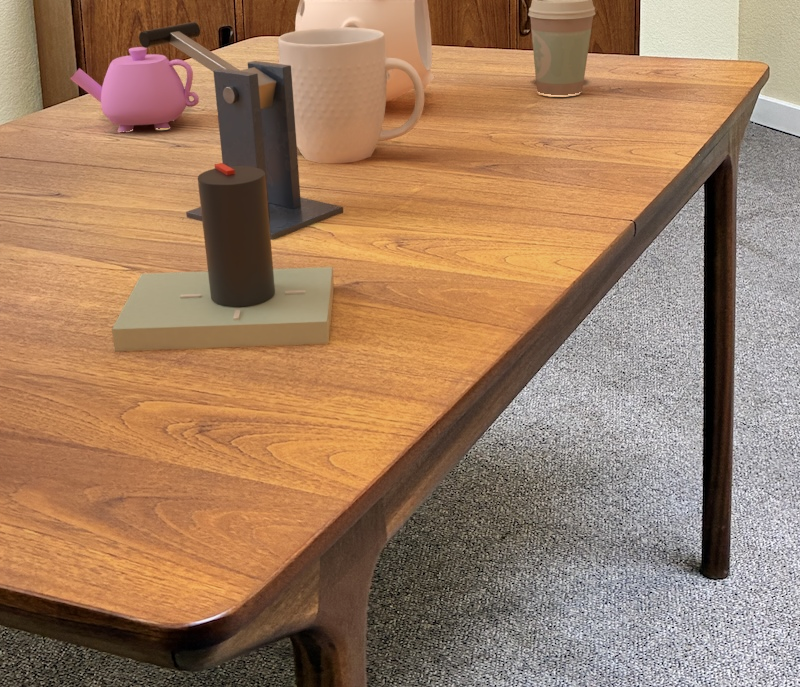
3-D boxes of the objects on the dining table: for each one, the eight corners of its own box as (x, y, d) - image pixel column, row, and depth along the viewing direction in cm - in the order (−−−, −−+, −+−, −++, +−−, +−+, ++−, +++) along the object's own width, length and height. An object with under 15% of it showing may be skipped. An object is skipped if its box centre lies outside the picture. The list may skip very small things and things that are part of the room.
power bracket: (187, 224, 100) (169, 70, 94) (258, 199, 107) (245, 53, 101) (273, 247, 94) (259, 84, 88) (343, 219, 100) (335, 65, 94)
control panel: (117, 370, 73) (110, 326, 72) (146, 311, 82) (141, 271, 81) (329, 362, 73) (326, 318, 72) (335, 304, 82) (332, 264, 81)
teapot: (196, 133, 131) (187, 53, 127) (68, 138, 131) (56, 58, 127) (206, 113, 140) (198, 38, 137) (87, 118, 140) (75, 43, 136)
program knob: (285, 297, 76) (275, 172, 72) (226, 312, 73) (212, 184, 70) (258, 278, 79) (248, 157, 75) (201, 291, 77) (187, 168, 73)
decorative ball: (320, 90, 151) (310, -62, 143) (444, 90, 149) (442, -65, 140) (283, 125, 133) (270, -46, 125) (424, 126, 131) (420, -49, 123)
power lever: (137, 48, 98) (140, 23, 97) (188, 38, 103) (191, 14, 101) (237, 115, 93) (242, 89, 92) (287, 102, 97) (292, 77, 96)
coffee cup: (532, 85, 150) (534, -7, 145) (596, 87, 147) (600, -7, 142) (521, 99, 142) (522, 3, 137) (588, 101, 140) (592, 3, 135)
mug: (423, 144, 123) (420, 23, 118) (427, 171, 113) (425, 41, 108) (289, 148, 123) (281, 28, 118) (282, 176, 113) (272, 46, 108)
